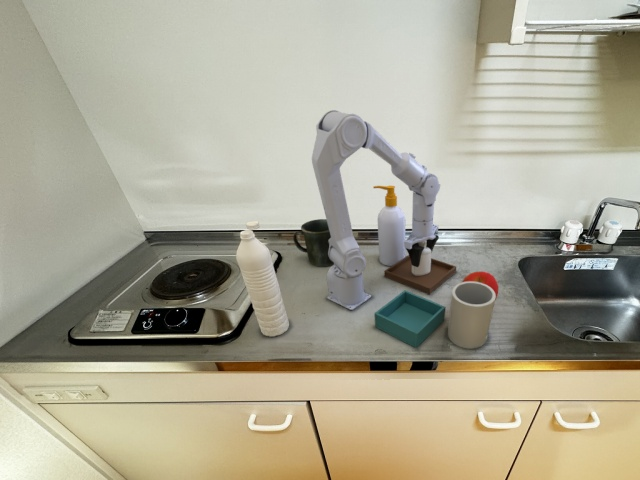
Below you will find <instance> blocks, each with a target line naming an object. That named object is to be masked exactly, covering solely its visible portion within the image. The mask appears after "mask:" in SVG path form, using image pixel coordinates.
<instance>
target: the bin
mask: <svg viewBox="0 0 640 480" xmlns="http://www.w3.org/2000/svg"><path fill="white" fill-rule="evenodd" d="M445 316H446V306H445V305H442V304H440V303H437V302H436V301H432V300H430V299H428V298H425V297H422V296H420V295H417V294H415V293H413V292H410V291H408V290H403V291H402V292H400V293H399V294H398V295H396V296H395V297H394V298H392V299H391V300H389V302H387V303H386V304H385V305H383V306H382V307H380V308H379V309H377V311H375V312H374V326H375V328H376V329H377V330H380V331H382V332H384V333H386V334H388V335H390V336H392V337H393V338H396V339H398V340H400V341H402V342H404V343H406V344H408V345H410V346H412V347H413V348H416V349H417V348H418V347H420V345H421V344H422V343H423V342H424V341H425V340H427V338H429V336H430V335H431V334H432V333H433V332H435V330H436V329H437V328H438V327H439V326H440V325H441V324H442V323H443V322H444V321H445Z"/></svg>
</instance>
